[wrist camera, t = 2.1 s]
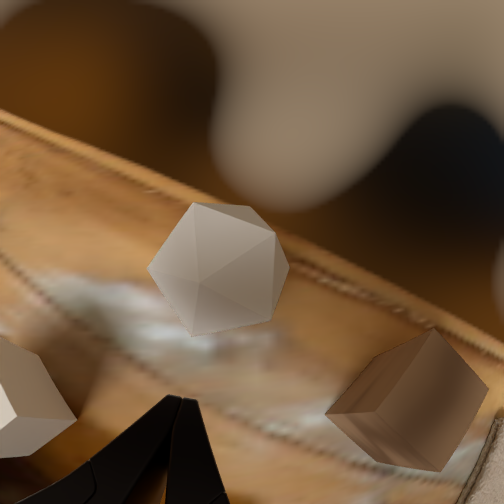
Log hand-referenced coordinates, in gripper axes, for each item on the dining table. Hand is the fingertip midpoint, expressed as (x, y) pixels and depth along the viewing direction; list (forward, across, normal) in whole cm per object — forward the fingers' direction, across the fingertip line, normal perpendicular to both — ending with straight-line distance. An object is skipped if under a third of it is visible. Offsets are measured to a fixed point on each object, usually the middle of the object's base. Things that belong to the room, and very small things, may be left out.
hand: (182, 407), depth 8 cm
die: (+16, 0, +3) cm, 16 cm away
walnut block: (+10, -13, +9) cm, 18 cm away
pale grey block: (+7, +13, +12) cm, 19 cm away
